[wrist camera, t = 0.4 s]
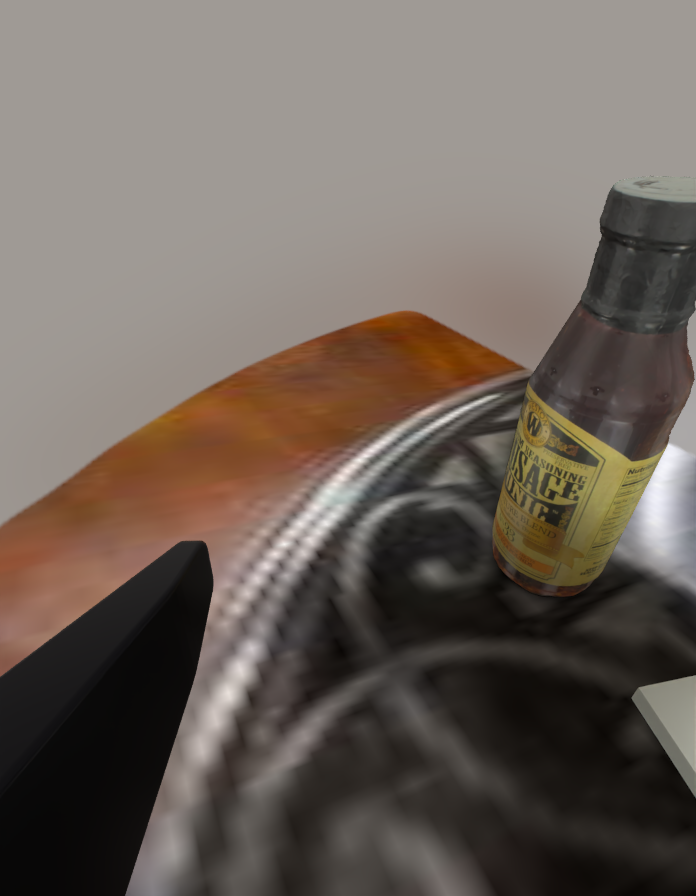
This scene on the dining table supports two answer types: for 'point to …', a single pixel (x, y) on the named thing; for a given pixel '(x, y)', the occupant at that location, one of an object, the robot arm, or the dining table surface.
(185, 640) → the robot arm
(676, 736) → the board
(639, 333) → the sauce bottle
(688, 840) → the dining table surface
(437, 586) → the dining table surface
